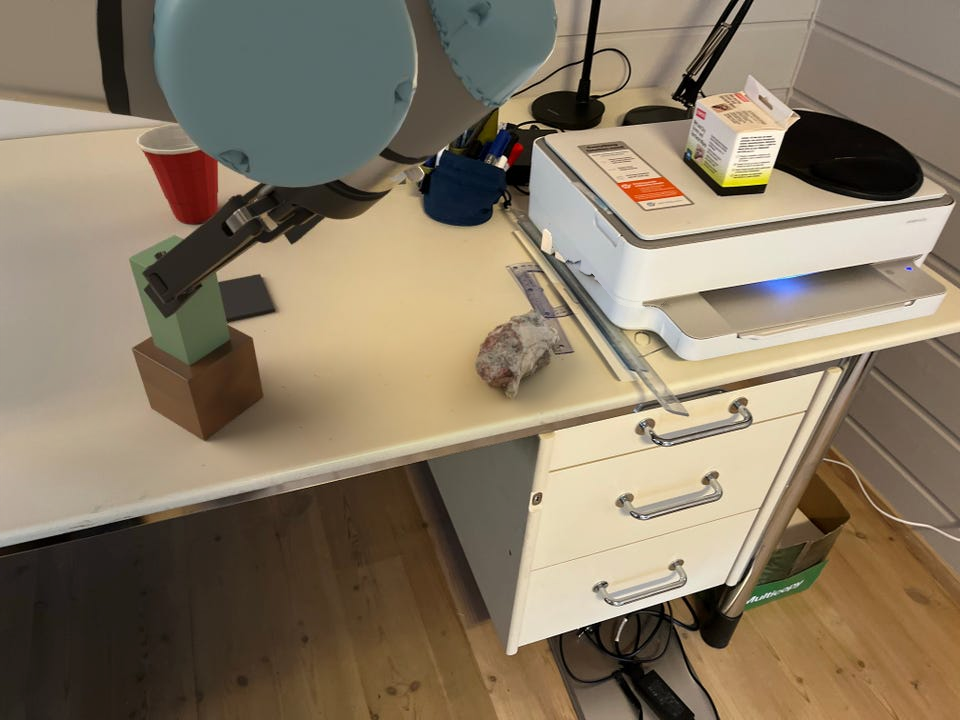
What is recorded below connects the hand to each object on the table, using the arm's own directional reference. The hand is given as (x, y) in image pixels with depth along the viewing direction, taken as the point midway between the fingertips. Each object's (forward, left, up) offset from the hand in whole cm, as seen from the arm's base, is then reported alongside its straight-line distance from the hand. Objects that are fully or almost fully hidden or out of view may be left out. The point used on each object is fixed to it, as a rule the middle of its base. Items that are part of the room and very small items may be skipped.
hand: (226, 263), depth 62 cm
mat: (0, +23, -20) cm, 31 cm away
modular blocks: (+49, +13, -20) cm, 55 cm away
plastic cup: (+1, +46, -20) cm, 50 cm away
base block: (-4, +6, -20) cm, 21 cm away
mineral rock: (+29, 0, -20) cm, 35 cm away
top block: (-4, +6, -12) cm, 14 cm away
